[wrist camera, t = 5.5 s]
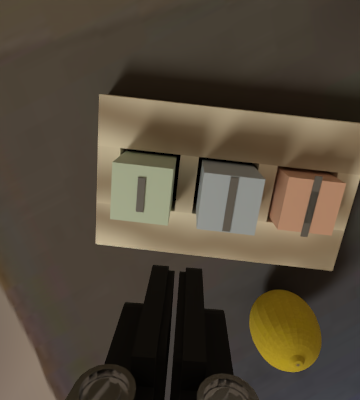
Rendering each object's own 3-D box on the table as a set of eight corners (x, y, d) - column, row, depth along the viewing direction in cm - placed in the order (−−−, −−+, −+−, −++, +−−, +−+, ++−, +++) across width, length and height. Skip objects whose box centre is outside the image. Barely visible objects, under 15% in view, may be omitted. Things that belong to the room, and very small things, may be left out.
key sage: (125, 150, 25) (111, 162, 20) (176, 156, 25) (173, 169, 20) (123, 199, 26) (109, 219, 22) (171, 204, 26) (167, 226, 22)
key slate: (202, 159, 25) (204, 173, 20) (253, 165, 25) (265, 179, 20) (196, 207, 26) (196, 229, 22) (244, 212, 26) (254, 236, 22)
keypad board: (108, 94, 25) (99, 94, 23) (358, 122, 25) (375, 125, 23) (103, 231, 29) (95, 244, 27) (321, 256, 29) (332, 271, 26)
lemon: (300, 269, 29) (337, 330, 22) (302, 319, 31) (337, 391, 24) (240, 276, 30) (256, 338, 22) (245, 324, 32) (262, 397, 24)
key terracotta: (274, 160, 26) (290, 173, 22) (322, 165, 26) (348, 179, 22) (263, 212, 28) (276, 233, 23) (309, 217, 27) (331, 240, 23)
